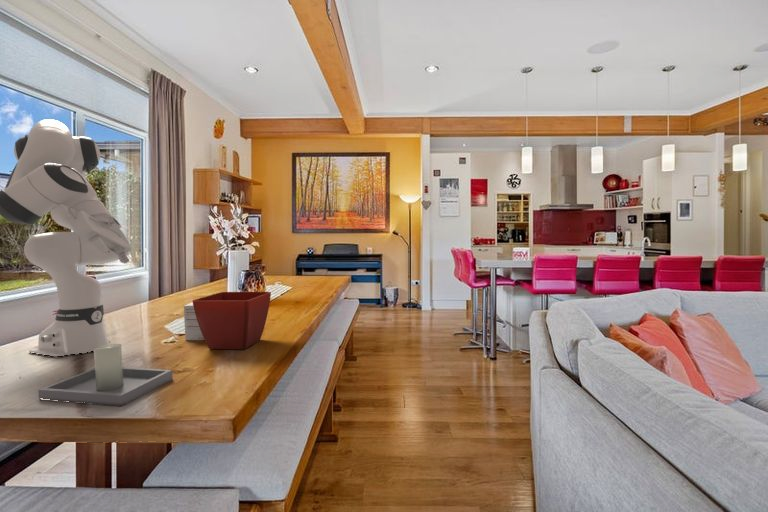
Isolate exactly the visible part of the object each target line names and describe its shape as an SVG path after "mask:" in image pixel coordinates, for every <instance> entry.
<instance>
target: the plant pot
mask: <svg viewBox="0 0 768 512" xmlns="http://www.w3.org/2000/svg"><path fill="white" fill-rule="evenodd" d="M271 296H272V292H271V291H220V292H217V293H214V294H210V295H206V296H202V297H200V298H196V299H193V300H192V301H191V302H193V306H194V311H195V314H196V318H197V321H198V324H199V327H200V330H201V332H202V335H203V337H204V339H205V340H204V341H205V343H206V346H207V347H208V349H211V350H245V349H247V348H249V347H250V346H252V345H254V344H255V343H257V342H259V341H260V340H261V339H262V335H263V332H264V330H265V325H266V322H267V318H268V314H269V309H270V303H271Z"/></svg>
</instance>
